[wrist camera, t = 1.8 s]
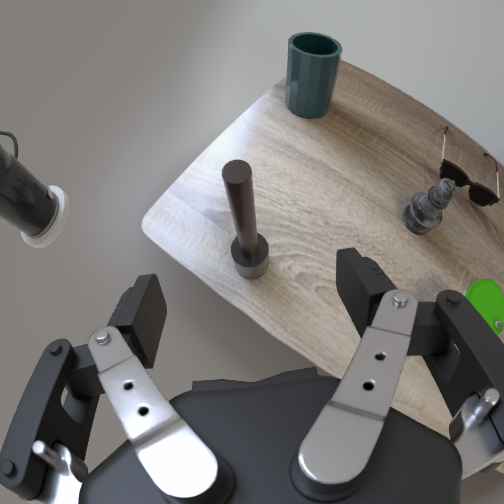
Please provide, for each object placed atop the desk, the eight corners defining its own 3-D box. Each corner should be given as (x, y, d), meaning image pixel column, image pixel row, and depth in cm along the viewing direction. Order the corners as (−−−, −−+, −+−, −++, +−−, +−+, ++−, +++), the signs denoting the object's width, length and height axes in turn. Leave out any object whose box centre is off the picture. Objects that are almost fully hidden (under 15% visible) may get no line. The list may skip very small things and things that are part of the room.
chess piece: (433, 211, 41) (471, 173, 30) (429, 242, 40) (471, 209, 28) (404, 197, 42) (437, 154, 31) (398, 228, 41) (434, 189, 29)
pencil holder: (278, 109, 49) (279, 47, 36) (295, 85, 51) (299, 28, 38) (321, 124, 47) (333, 63, 34) (335, 99, 49) (347, 42, 36)
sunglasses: (430, 175, 43) (443, 159, 39) (438, 127, 48) (448, 111, 44) (486, 213, 41) (501, 200, 36) (487, 160, 46) (498, 146, 41)
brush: (230, 270, 40) (191, 184, 19) (245, 242, 41) (224, 138, 20) (259, 284, 39) (250, 210, 18) (273, 256, 40) (280, 159, 19)
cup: (421, 300, 37) (484, 274, 23) (459, 290, 37) (522, 262, 23) (429, 352, 34) (497, 347, 20) (467, 338, 34) (534, 326, 20)
